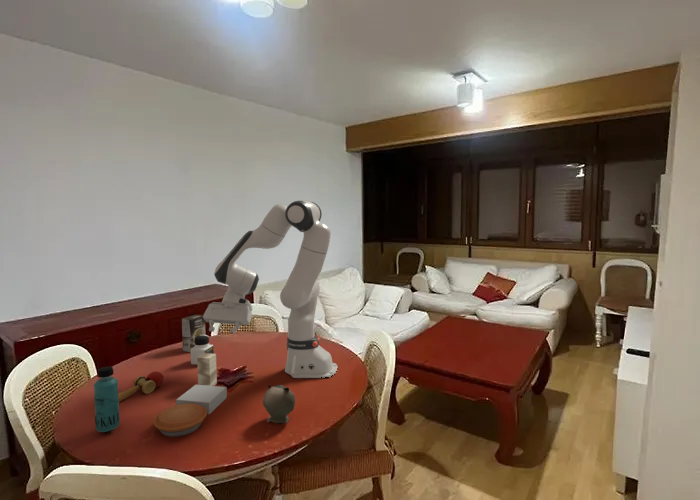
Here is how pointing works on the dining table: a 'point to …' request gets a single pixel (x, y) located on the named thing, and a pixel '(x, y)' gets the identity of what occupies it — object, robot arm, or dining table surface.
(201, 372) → the ash block
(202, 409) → the pie
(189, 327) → the coffee box
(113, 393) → the beverage bottle
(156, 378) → the kendama
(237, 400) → the dining table surface
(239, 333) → the dining table surface
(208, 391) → the grey base block
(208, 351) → the medicine bottle
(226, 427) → the dining table surface
